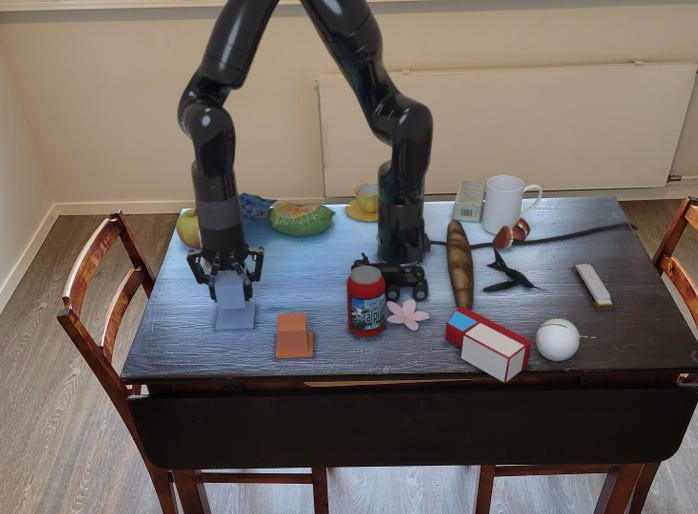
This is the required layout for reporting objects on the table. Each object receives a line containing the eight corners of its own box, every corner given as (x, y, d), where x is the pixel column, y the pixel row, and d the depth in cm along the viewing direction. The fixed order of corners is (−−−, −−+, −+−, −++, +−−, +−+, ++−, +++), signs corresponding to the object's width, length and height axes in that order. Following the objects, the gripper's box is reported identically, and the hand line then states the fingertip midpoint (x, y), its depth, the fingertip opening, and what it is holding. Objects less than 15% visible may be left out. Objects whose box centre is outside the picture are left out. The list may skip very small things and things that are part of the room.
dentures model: (511, 243, 144) (537, 229, 148) (498, 227, 145) (524, 214, 148) (498, 257, 149) (524, 244, 153) (487, 242, 150) (512, 229, 153)
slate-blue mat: (255, 306, 135) (255, 303, 135) (253, 328, 130) (253, 325, 129) (219, 308, 135) (219, 305, 134) (215, 330, 129) (215, 327, 129)
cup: (406, 208, 164) (407, 187, 160) (372, 227, 157) (372, 206, 154) (368, 193, 170) (368, 173, 167) (334, 211, 164) (333, 190, 160)
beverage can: (357, 344, 125) (355, 288, 118) (342, 323, 130) (340, 268, 122) (391, 334, 127) (391, 278, 120) (375, 314, 132) (375, 259, 124)
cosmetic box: (479, 222, 158) (485, 198, 167) (481, 204, 155) (487, 181, 164) (451, 219, 159) (458, 196, 168) (453, 201, 157) (460, 179, 166)
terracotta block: (307, 334, 127) (306, 312, 124) (308, 352, 123) (306, 329, 120) (280, 336, 127) (277, 313, 123) (279, 353, 123) (277, 330, 120)
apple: (235, 233, 153) (222, 200, 148) (204, 257, 148) (190, 224, 143) (207, 228, 159) (193, 196, 154) (176, 251, 154) (161, 219, 149)
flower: (438, 338, 129) (440, 332, 127) (385, 338, 126) (387, 332, 125) (426, 301, 135) (428, 295, 134) (376, 301, 133) (377, 295, 132)
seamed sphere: (522, 343, 118) (533, 313, 122) (543, 372, 121) (553, 342, 125) (577, 333, 111) (587, 302, 115) (597, 364, 114) (606, 332, 118)
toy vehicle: (351, 280, 141) (350, 242, 136) (425, 277, 141) (427, 239, 136) (352, 303, 135) (351, 264, 129) (429, 301, 135) (431, 262, 129)
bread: (441, 223, 158) (443, 203, 155) (463, 223, 158) (465, 203, 154) (452, 324, 129) (454, 302, 126) (479, 324, 129) (482, 302, 125)
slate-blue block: (247, 293, 132) (244, 270, 128) (245, 308, 128) (242, 285, 125) (220, 294, 132) (216, 271, 128) (218, 309, 128) (214, 286, 124)
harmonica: (613, 309, 131) (615, 301, 130) (597, 310, 131) (599, 302, 130) (587, 268, 143) (589, 260, 141) (572, 269, 142) (574, 260, 141)
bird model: (531, 275, 146) (542, 301, 138) (475, 265, 144) (482, 291, 136) (541, 253, 143) (552, 279, 135) (483, 242, 141) (491, 268, 133)
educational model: (323, 246, 151) (322, 223, 148) (254, 238, 155) (251, 215, 151) (340, 221, 161) (339, 199, 157) (275, 214, 164) (273, 192, 161)
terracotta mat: (312, 334, 128) (312, 331, 127) (313, 357, 123) (312, 354, 122) (277, 336, 128) (276, 333, 127) (276, 358, 123) (275, 356, 122)
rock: (263, 216, 146) (261, 225, 147) (283, 197, 162) (282, 205, 162) (196, 200, 147) (195, 209, 148) (222, 183, 162) (221, 191, 163)
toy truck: (461, 304, 125) (437, 320, 121) (532, 340, 116) (509, 358, 113) (459, 329, 128) (435, 345, 124) (528, 366, 120) (505, 384, 116)
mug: (485, 236, 153) (490, 192, 146) (479, 218, 159) (483, 175, 152) (540, 234, 153) (548, 190, 146) (532, 217, 159) (539, 173, 152)
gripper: (174, 229, 116) (191, 313, 126) (261, 226, 116) (270, 309, 127) (180, 208, 121) (196, 290, 132) (263, 205, 122) (272, 286, 133)
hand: (232, 299), depth 129 cm, fingers closed on slate-blue block, 5 cm apart
